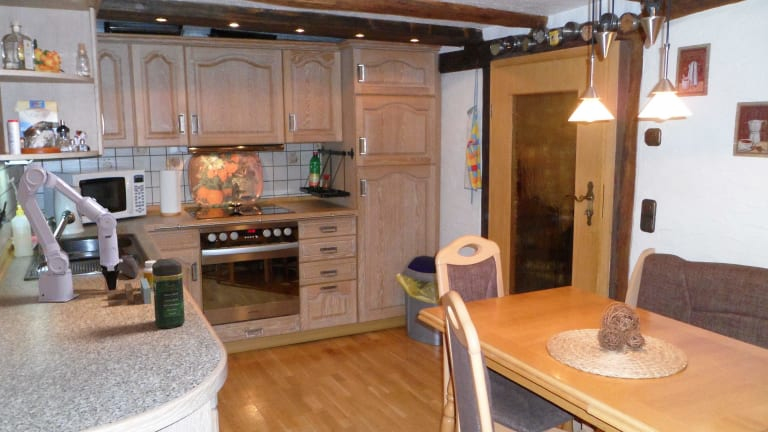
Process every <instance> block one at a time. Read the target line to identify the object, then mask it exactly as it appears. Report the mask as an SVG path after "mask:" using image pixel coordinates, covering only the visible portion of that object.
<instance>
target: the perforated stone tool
mask: <svg viewBox="0 0 768 432" xmlns="http://www.w3.org/2000/svg"><path fill="white" fill-rule="evenodd" d="M119 259H122V260H123V262H119V265H118V267H119V268H118V269H120V272H121V273H122V274H123V275H124V276H126V277H129V278H133V279H135V278H137V276H138V274H139V266H138V264H137V261H136V260H135V258H134V257H132V256H130V255H128V254H127V255H122V256H120V257H119Z"/></svg>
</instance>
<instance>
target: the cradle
mask: <svg viewBox="0 0 768 432" xmlns="http://www.w3.org/2000/svg"><path fill="white" fill-rule="evenodd" d="M124 291H125V292H118V293H116V294H106V298H107V299H106V300H107V307H108V308H109V307H110V308H111V307H118V306H124V305H125V306H126V305H134V303H135V297H134V296H135V295H134V288H133V285H132V283H131V282H129V283H128V282H126V283H124Z"/></svg>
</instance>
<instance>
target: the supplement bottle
mask: <svg viewBox="0 0 768 432" xmlns="http://www.w3.org/2000/svg"><path fill="white" fill-rule="evenodd" d="M156 261H157V260H147V261H145V262H144V266H145V267H144V268H143V270H142V271H143V272H142V273H143V279H145V278H147V281H148V283H149V286H150V288H151V292H152V291H153V292H154V290H153V275H152V265H153V264H154V263H155V262H156Z"/></svg>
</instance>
